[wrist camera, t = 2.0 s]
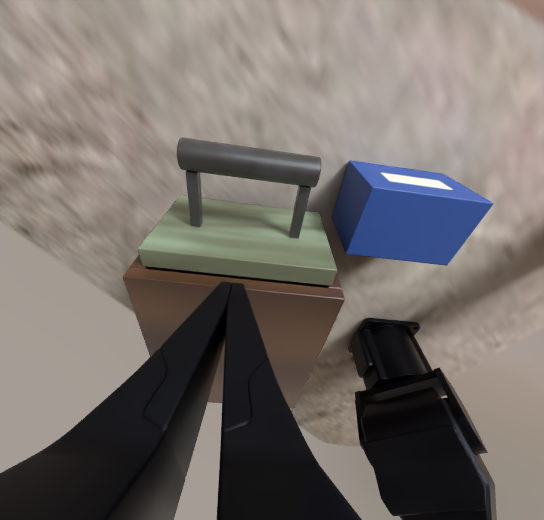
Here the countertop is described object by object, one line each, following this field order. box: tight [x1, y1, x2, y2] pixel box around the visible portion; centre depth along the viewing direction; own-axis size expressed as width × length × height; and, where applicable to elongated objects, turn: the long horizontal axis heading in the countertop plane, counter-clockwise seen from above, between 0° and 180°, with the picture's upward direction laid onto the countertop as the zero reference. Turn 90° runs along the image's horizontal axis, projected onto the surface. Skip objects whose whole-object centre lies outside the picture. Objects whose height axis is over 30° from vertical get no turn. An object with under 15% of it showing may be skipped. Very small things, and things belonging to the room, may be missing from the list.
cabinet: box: [123, 255, 345, 408], centre depth 20 cm, size 15×12×9 cm
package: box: [332, 161, 493, 265], centre depth 16 cm, size 7×4×5 cm, turn 83°
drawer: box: [138, 138, 337, 286], centre depth 18 cm, size 18×10×7 cm, turn 173°
